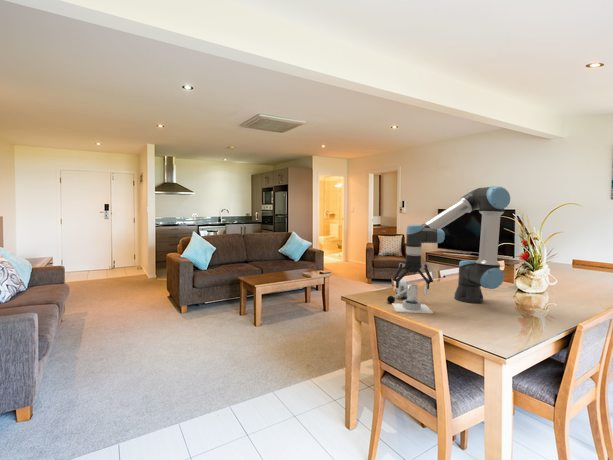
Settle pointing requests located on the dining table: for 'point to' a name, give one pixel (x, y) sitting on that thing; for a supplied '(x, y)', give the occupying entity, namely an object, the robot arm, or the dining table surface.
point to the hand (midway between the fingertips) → (412, 294)
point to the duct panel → (411, 307)
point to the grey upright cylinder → (412, 293)
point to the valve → (402, 292)
